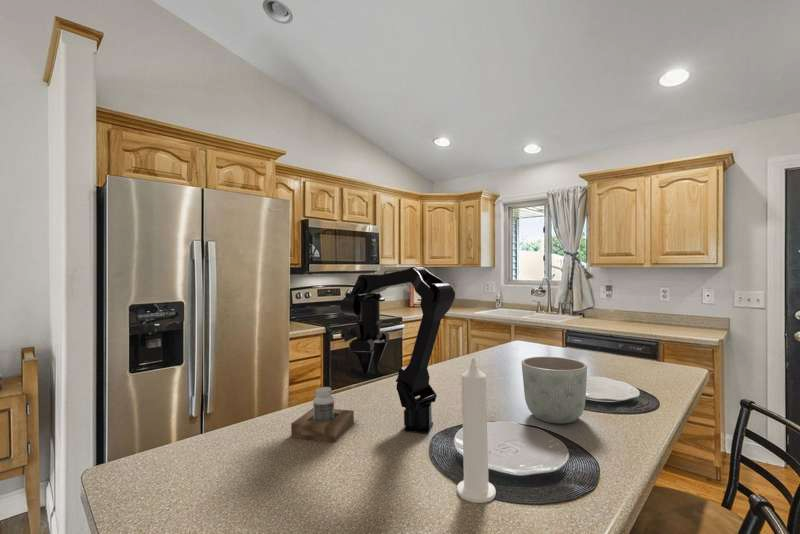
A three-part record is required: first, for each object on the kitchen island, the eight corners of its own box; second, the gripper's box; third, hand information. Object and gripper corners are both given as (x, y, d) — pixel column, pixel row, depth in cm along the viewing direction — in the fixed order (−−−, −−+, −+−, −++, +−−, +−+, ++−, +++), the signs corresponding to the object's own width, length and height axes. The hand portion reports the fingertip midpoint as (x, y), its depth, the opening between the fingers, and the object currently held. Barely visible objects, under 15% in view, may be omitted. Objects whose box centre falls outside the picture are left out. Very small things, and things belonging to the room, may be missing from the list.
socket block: (353, 423, 108) (353, 410, 108) (335, 442, 96) (334, 427, 96) (314, 419, 111) (313, 407, 111) (291, 437, 99) (291, 423, 99)
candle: (453, 483, 77) (450, 354, 77) (488, 481, 77) (486, 353, 77) (462, 504, 70) (459, 362, 70) (501, 502, 70) (498, 361, 70)
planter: (511, 419, 109) (510, 364, 109) (537, 403, 121) (536, 353, 121) (575, 436, 97) (574, 374, 97) (597, 416, 109) (595, 361, 110)
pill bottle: (337, 427, 103) (337, 389, 103) (318, 432, 100) (317, 393, 100) (329, 420, 107) (328, 384, 107) (310, 425, 104) (310, 388, 104)
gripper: (356, 313, 127) (357, 361, 127) (331, 320, 109) (332, 376, 109) (389, 313, 124) (390, 363, 124) (369, 321, 106) (370, 379, 106)
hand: (371, 369), depth 116 cm, fingers open, 9 cm apart
